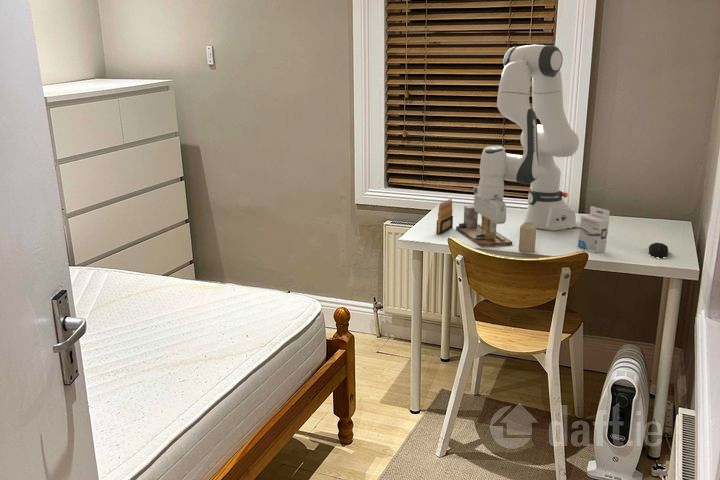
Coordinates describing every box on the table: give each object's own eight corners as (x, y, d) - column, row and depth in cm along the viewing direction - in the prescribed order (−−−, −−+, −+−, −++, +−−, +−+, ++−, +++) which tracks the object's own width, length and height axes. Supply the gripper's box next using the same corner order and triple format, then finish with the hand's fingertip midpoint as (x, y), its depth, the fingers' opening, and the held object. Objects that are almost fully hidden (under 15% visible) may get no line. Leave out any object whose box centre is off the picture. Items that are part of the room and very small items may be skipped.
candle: (524, 253, 237) (527, 225, 234) (515, 249, 242) (517, 221, 239) (537, 251, 239) (540, 223, 236) (528, 247, 244) (530, 220, 241)
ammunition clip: (440, 234, 259) (441, 203, 256) (436, 233, 260) (437, 202, 256) (452, 228, 268) (454, 198, 264) (448, 227, 269) (449, 197, 265)
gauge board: (484, 227, 269) (486, 204, 266) (512, 244, 246) (514, 220, 244) (455, 229, 266) (457, 206, 263) (481, 247, 244) (482, 222, 241)
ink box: (576, 247, 244) (581, 207, 240) (586, 245, 247) (590, 205, 243) (596, 253, 237) (601, 212, 233) (605, 251, 240) (610, 210, 236)
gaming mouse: (648, 260, 232) (649, 249, 230) (648, 249, 245) (649, 238, 244) (668, 263, 229) (670, 251, 228) (667, 251, 242) (668, 240, 241)
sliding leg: (490, 236, 252) (492, 214, 250) (495, 239, 248) (497, 217, 246) (474, 237, 250) (475, 215, 248) (478, 240, 247) (480, 218, 244)
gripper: (512, 198, 236) (509, 236, 240) (487, 186, 255) (485, 222, 259) (495, 199, 234) (492, 238, 238) (471, 186, 253) (469, 223, 257)
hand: (488, 229), depth 249 cm, fingers closed on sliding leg, 4 cm apart
